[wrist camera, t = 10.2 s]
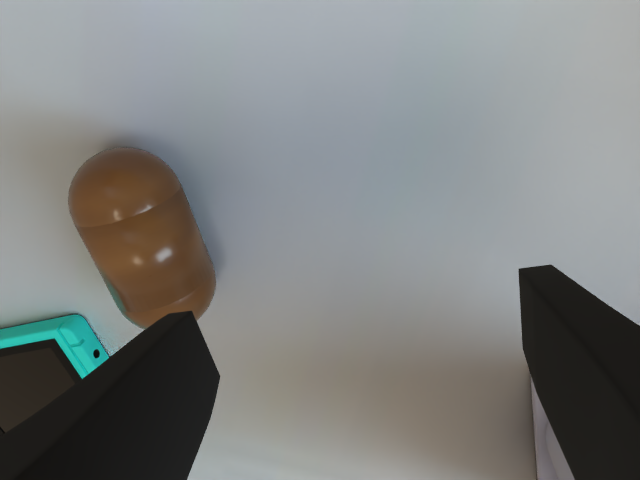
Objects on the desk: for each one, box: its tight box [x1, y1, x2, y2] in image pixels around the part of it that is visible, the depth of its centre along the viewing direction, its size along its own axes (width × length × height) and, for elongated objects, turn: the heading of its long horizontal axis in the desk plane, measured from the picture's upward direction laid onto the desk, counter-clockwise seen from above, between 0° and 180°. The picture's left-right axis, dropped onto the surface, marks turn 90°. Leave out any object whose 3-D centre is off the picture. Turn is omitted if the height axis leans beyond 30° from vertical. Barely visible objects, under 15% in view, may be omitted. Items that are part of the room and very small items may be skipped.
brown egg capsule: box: [68, 147, 216, 329], centre depth 19 cm, size 8×4×4 cm, turn 14°
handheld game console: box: [0, 315, 109, 436], centre depth 27 cm, size 10×16×1 cm, turn 107°
